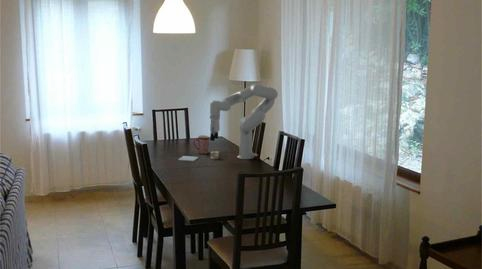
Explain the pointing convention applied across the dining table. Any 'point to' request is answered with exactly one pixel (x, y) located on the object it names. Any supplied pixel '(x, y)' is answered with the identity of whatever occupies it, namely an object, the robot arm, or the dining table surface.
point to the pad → (188, 158)
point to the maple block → (214, 154)
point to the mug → (202, 144)
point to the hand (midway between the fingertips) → (214, 139)
